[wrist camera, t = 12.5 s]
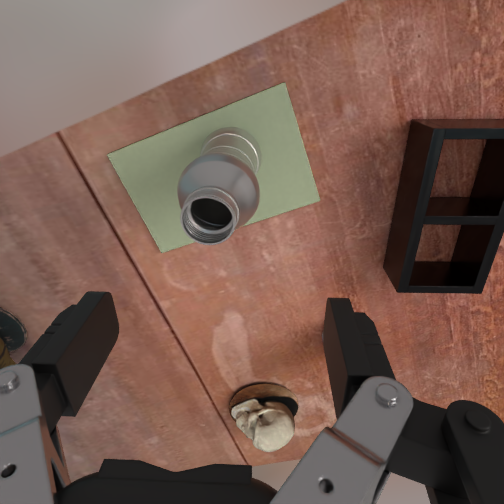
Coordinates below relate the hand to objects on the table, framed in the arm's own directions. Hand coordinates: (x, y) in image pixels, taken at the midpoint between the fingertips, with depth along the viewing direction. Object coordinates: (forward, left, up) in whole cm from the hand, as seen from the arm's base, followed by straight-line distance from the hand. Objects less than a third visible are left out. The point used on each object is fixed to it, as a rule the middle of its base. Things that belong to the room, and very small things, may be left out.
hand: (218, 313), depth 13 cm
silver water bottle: (+1, -2, -31) cm, 31 cm away
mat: (+4, -4, -32) cm, 32 cm away
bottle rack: (+7, +23, -32) cm, 39 cm away
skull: (+45, +2, -32) cm, 55 cm away
